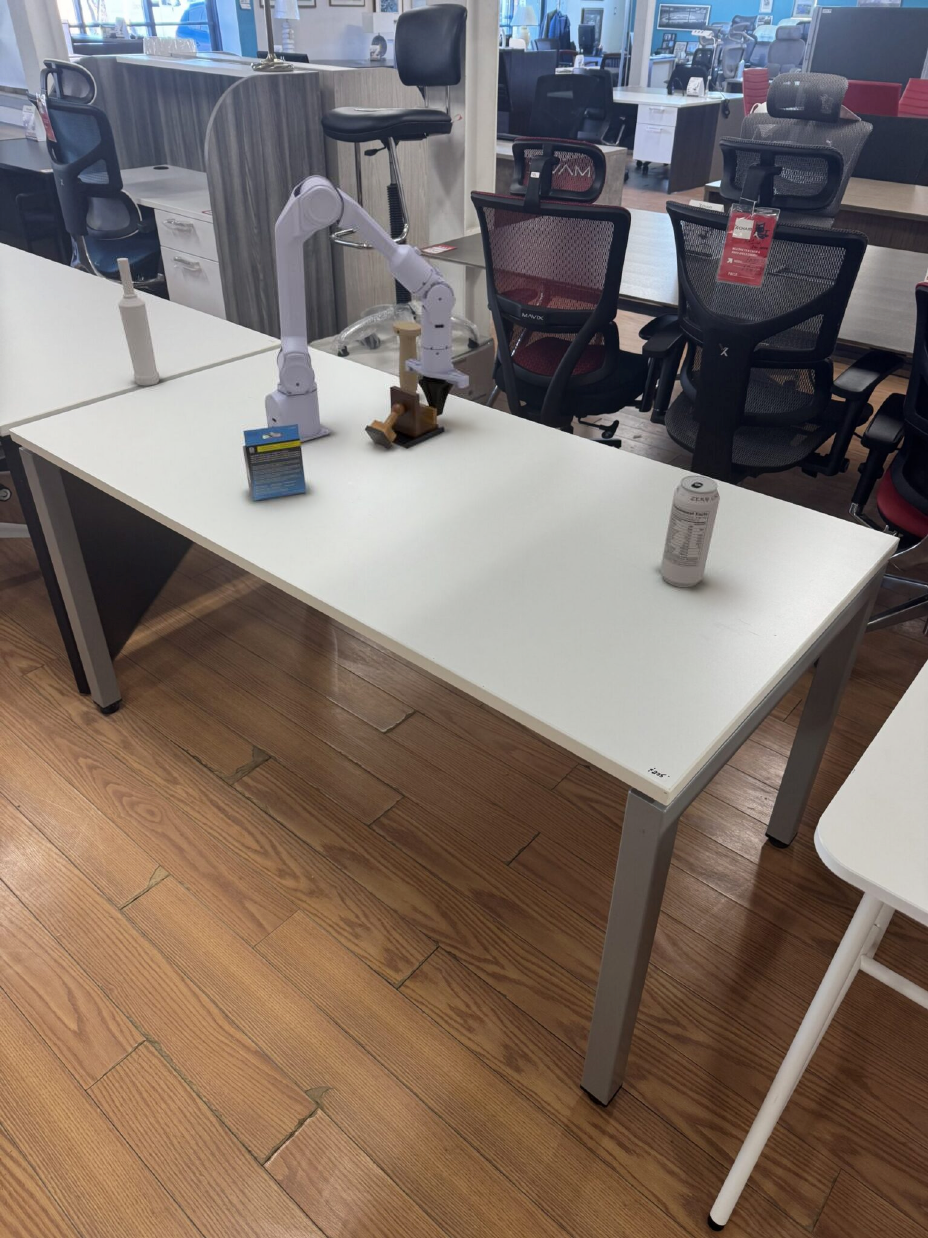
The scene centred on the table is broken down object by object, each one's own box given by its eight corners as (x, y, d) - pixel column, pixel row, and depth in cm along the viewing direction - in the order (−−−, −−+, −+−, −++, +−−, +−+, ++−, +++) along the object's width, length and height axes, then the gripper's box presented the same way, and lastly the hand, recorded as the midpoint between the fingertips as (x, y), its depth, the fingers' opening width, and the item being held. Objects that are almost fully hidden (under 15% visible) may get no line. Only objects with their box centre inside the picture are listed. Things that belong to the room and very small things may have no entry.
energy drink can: (709, 577, 122) (730, 483, 113) (688, 594, 118) (708, 498, 109) (673, 562, 125) (690, 469, 116) (651, 578, 121) (667, 483, 113)
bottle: (156, 386, 180) (130, 262, 166) (131, 385, 180) (104, 261, 166) (163, 377, 185) (139, 256, 170) (139, 377, 185) (114, 255, 170)
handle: (410, 405, 174) (408, 331, 165) (390, 396, 177) (387, 324, 169) (428, 399, 176) (427, 326, 168) (407, 391, 180) (405, 319, 171)
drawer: (415, 418, 166) (414, 377, 161) (439, 427, 163) (439, 385, 158) (391, 428, 162) (389, 387, 157) (415, 437, 158) (415, 395, 154)
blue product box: (301, 483, 144) (294, 414, 137) (306, 493, 141) (299, 423, 134) (249, 491, 141) (238, 421, 134) (253, 501, 138) (242, 430, 131)
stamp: (395, 434, 162) (394, 399, 158) (411, 440, 159) (410, 404, 155) (365, 447, 156) (363, 411, 152) (380, 453, 154) (379, 416, 150)
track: (414, 420, 167) (413, 415, 167) (444, 431, 163) (444, 426, 162) (376, 436, 161) (376, 431, 160) (407, 448, 156) (407, 443, 156)
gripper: (480, 348, 156) (478, 418, 164) (422, 331, 164) (423, 399, 172) (455, 357, 152) (454, 428, 160) (397, 340, 159) (399, 409, 167)
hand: (436, 414), depth 165 cm, fingers closed
